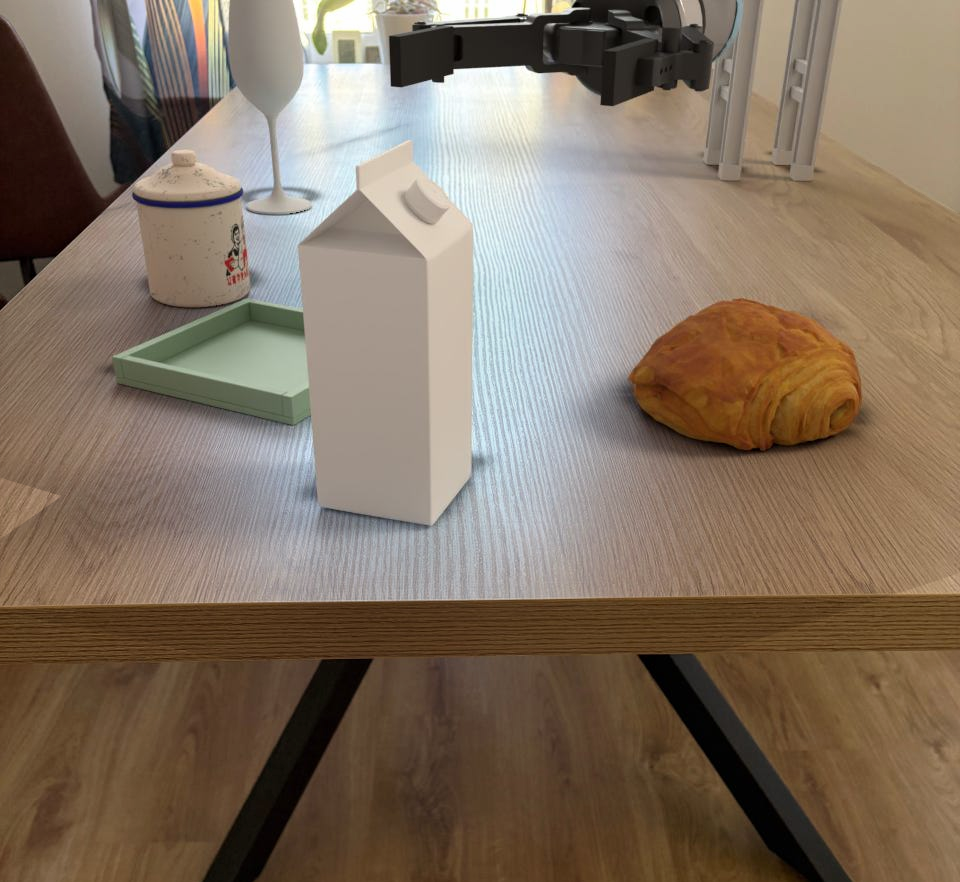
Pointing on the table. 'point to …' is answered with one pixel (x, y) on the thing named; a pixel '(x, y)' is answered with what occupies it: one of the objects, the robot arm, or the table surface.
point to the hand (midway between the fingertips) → (497, 70)
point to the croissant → (749, 377)
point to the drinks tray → (229, 362)
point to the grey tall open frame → (798, 95)
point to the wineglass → (267, 76)
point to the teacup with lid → (193, 234)
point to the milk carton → (390, 344)
